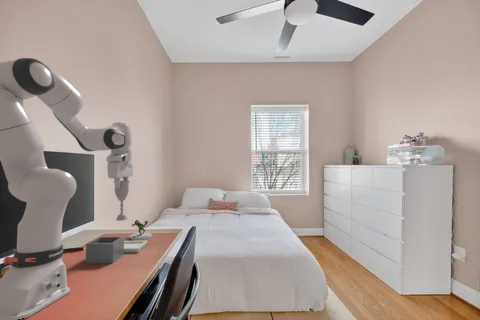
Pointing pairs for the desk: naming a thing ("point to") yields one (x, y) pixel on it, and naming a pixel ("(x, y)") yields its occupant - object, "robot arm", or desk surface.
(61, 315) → the desk surface
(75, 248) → the desk surface
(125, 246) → the tray
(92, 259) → the box
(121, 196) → the chalice
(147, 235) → the monster figurine
